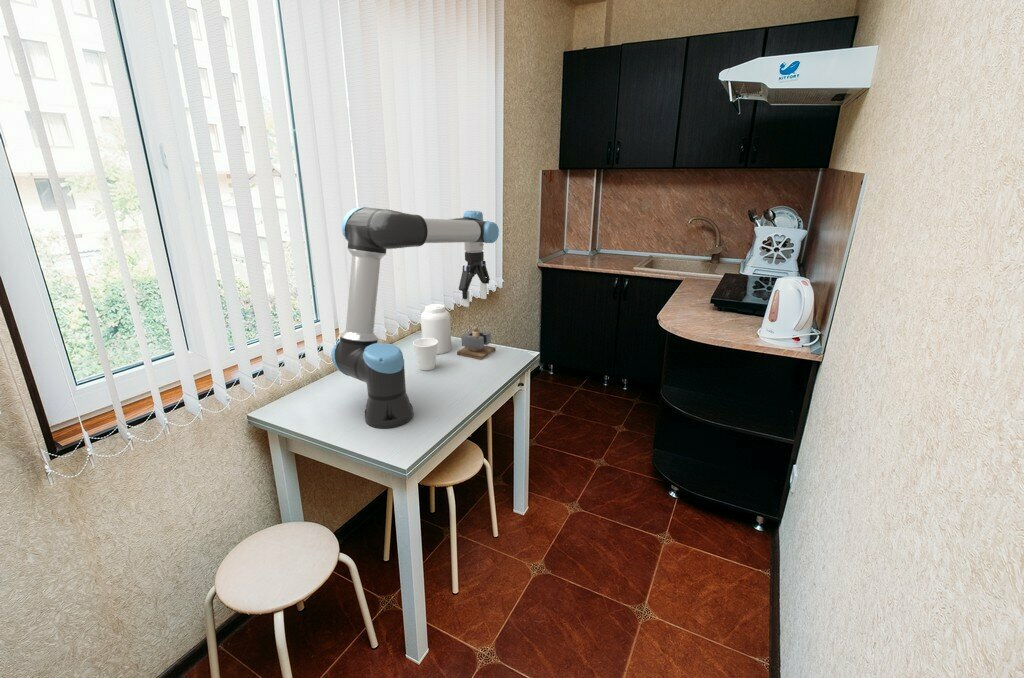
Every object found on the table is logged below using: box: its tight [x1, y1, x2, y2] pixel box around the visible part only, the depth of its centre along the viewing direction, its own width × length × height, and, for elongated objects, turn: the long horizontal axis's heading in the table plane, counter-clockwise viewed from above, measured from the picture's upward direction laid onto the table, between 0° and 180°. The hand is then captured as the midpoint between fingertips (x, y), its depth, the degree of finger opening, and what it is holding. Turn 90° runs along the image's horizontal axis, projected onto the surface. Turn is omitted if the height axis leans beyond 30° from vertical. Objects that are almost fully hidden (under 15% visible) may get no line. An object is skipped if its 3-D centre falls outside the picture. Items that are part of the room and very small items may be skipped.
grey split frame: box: [460, 329, 492, 349], centre depth 202 cm, size 9×9×4 cm
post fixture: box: [456, 325, 496, 361], centre depth 202 cm, size 12×12×12 cm
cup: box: [412, 337, 438, 371], centre depth 187 cm, size 10×10×11 cm
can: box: [420, 303, 452, 355], centre depth 204 cm, size 12×12×20 cm
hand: (475, 302), depth 196 cm, fingers open, 13 cm apart
